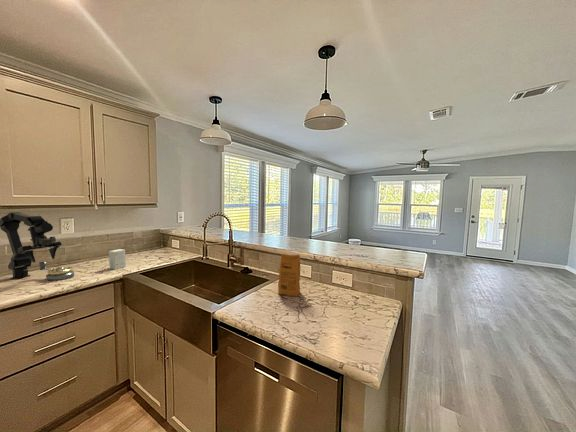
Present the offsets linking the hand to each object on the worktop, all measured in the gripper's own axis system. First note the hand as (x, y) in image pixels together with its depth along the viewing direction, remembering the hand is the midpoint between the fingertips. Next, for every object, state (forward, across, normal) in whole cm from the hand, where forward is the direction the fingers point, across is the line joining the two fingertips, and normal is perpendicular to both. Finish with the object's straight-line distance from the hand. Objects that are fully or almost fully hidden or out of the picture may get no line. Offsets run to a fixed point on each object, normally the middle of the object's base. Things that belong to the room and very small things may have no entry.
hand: (44, 260), depth 147 cm
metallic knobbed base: (+9, +6, +5) cm, 12 cm away
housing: (+12, +9, +5) cm, 16 cm away
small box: (+16, +37, -7) cm, 41 cm away
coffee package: (+57, +31, -136) cm, 151 cm away
